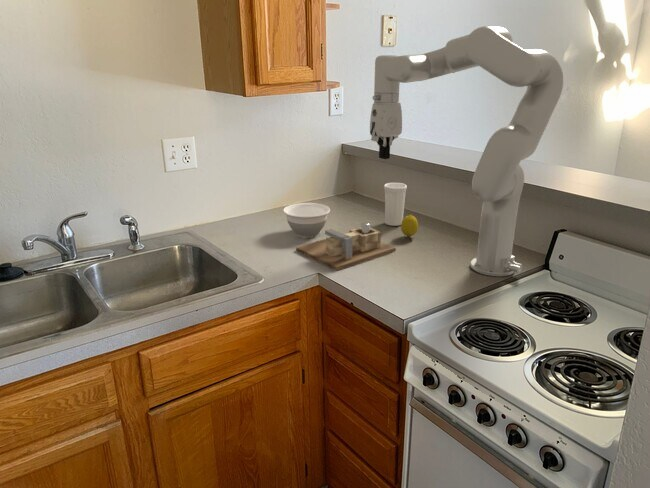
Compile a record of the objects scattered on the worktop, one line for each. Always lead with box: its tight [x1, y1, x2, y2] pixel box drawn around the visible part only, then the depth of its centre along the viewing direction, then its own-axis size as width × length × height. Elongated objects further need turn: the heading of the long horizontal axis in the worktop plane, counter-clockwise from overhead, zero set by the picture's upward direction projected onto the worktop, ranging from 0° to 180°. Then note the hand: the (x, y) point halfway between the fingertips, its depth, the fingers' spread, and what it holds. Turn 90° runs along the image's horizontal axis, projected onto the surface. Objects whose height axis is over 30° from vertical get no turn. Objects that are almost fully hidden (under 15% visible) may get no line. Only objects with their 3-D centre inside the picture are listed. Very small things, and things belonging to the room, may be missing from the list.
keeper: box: [324, 228, 353, 260], centre depth 161 cm, size 10×2×7 cm, turn 38°
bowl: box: [282, 202, 331, 239], centre depth 183 cm, size 16×16×8 cm
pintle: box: [360, 221, 371, 235], centre depth 169 cm, size 3×3×7 cm
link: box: [325, 227, 382, 256], centre depth 166 cm, size 17×7×5 cm, turn 122°
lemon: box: [400, 214, 419, 238], centre depth 178 cm, size 6×6×8 cm
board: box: [295, 231, 397, 272], centre depth 168 cm, size 20×24×1 cm
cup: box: [383, 182, 408, 227], centre depth 190 cm, size 8×8×14 cm
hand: (384, 158), depth 169 cm, fingers closed
